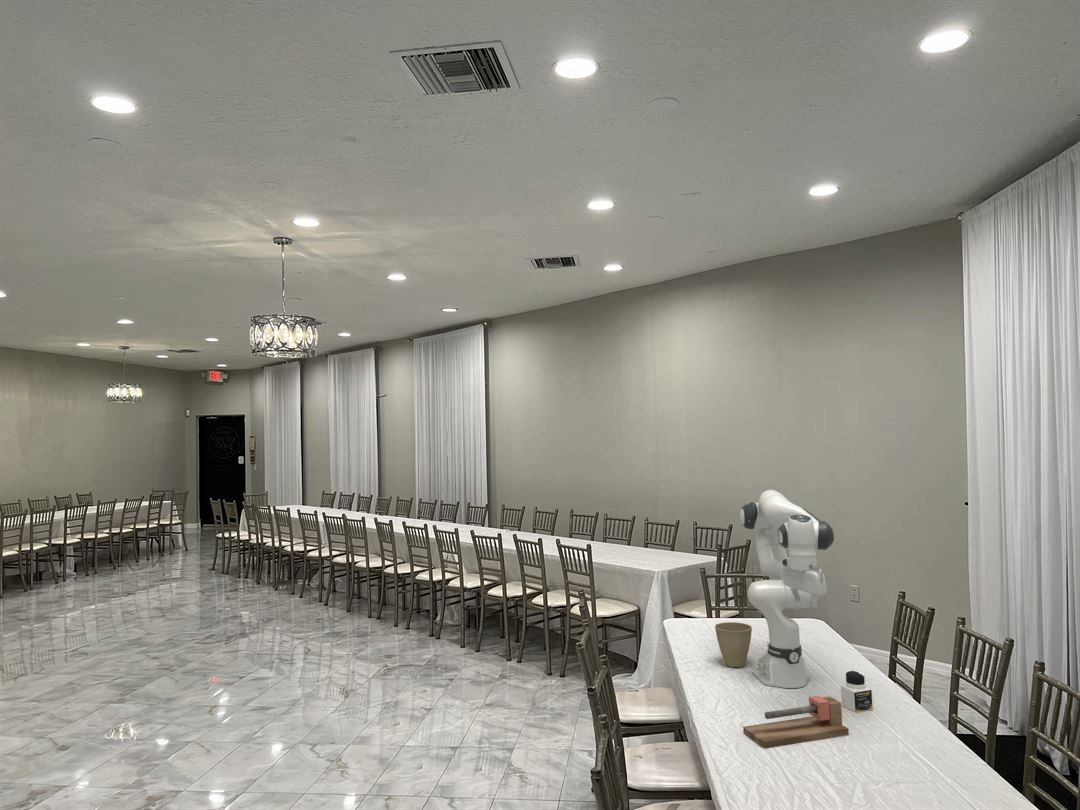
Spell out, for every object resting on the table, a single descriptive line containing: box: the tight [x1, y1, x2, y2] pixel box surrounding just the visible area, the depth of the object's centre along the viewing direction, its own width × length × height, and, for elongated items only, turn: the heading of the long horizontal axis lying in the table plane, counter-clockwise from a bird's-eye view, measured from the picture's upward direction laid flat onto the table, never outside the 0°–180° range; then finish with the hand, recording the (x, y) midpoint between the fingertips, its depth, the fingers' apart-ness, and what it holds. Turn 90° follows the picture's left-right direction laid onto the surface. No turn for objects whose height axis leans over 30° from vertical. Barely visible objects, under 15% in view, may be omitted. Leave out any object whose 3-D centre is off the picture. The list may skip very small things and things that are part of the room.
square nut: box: [808, 695, 830, 721], centre depth 230 cm, size 6×4×6 cm, turn 14°
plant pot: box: [714, 621, 753, 668], centre depth 297 cm, size 15×15×16 cm
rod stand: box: [742, 695, 850, 749], centre depth 228 cm, size 12×30×9 cm, turn 104°
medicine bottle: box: [840, 670, 874, 713], centre depth 247 cm, size 7×7×12 cm
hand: (805, 603), depth 244 cm, fingers open, 8 cm apart
